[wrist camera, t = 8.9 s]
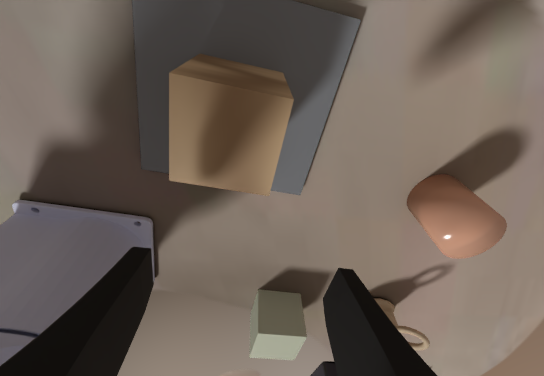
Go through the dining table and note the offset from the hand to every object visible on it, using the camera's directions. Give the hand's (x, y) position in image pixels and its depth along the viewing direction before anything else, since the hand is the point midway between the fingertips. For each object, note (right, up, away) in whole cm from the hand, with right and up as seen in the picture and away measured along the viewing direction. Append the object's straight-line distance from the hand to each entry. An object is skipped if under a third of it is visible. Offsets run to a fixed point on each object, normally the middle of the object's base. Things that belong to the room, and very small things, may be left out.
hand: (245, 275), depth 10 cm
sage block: (+1, -9, +17) cm, 19 cm away
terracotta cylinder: (+14, +3, +10) cm, 17 cm away
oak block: (-1, +8, +5) cm, 10 cm away
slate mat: (-1, +9, +5) cm, 10 cm away
